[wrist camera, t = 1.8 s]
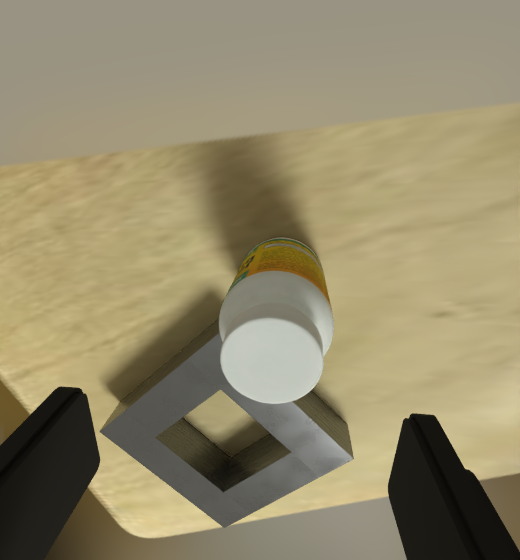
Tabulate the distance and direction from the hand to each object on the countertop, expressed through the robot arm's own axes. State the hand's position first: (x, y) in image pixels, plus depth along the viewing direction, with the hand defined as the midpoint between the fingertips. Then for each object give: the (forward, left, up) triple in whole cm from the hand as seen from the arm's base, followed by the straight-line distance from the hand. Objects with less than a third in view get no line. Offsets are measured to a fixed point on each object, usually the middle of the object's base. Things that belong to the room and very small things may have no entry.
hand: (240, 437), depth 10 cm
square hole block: (+10, +6, -13) cm, 18 cm away
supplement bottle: (-1, 0, -13) cm, 13 cm away
